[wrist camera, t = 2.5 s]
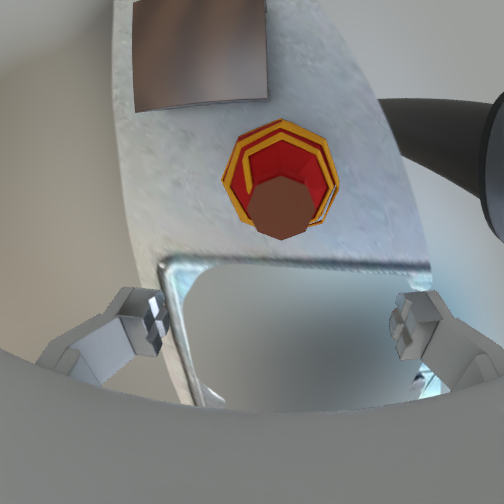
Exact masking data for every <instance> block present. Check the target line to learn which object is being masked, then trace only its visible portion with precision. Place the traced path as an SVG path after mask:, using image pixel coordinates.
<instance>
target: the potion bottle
mask: <svg viewBox="0 0 504 504" xmlns="http://www.w3.org/2000/svg"><path fill="white" fill-rule="evenodd" d="M221 181H222V183H223V185H224V187H225V189H226V191H227V193H228V195H229V198H230V200H231V202H232V204H233V206H234V208H235V210H236V212H237V214H238V216H239V218H240V220H241V221H242V222H244V223H247V224H249V225H252V226H254V227H256V229H257V231H258V232H260V233H263V234H265V235H268V236H271V237H273V238H276V239H279V240H284V239H287V238H290V237H292V236H295V235H298V234H300V233H303V232H305V231H306V229H307V227H311V226H314V225H318V224H322V223H323V222H324V220H325V217H326V215H327V213H328V211H329V209H330V207H331V205H332V203H333V201H334V199H335V196H336V194H337V192H338V190H339V178H338V175H337V172H336V168H335V165H334V162H333V159H332V156H331V153H330V150H329V147H328V144H327V141H326V139H325V138H323V137H321V136H319V135H317V134H315V133H313V132H310V131H308V130H306V129H304V128H302V127H300V126H298V125H296V124H295V123H293V122H289V121H286V120H284V119H281V118H280V119H278V120H275V121H273V122H271V123H268V124H266V125H264V126H261V127H259V128H257V129H254V130H252V131H250V132H248V133H245V134H243V135H241V136H239V137H238V139H237V141H236V144H235V146H234V149H233V151H232V154H231V156H230V159H229V161H228V164H227V166H226V169H225V171H224V174H223V176H222V179H221ZM335 184H336V187H335ZM334 187H335V190H334V193H333V195H332V198H331V201H330V203H329V206H328V208H327V211H326V213H325V216H324V218H323V220H320V221H317V219H319V217H320V216H322V214H323V212H324V209H325V206H326V204H327V201H328V199H329V197H330V195H331V193H332V191H333V189H334ZM315 221H317V222H315ZM312 222H315V223H312ZM309 223H312V224H309Z"/></svg>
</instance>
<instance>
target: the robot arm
mask: <svg viewBox="0 0 504 504" xmlns="http://www.w3.org/2000/svg"><path fill="white" fill-rule="evenodd" d="M164 301H165V297H164V294H163V292H162V291H161V290H157V289H146V288H133V287H123V288H121V289H120V291H119V292H118V294H117V295H116V296H115V298H114V299H113V300H112V302H111V303H110V305H109V306H108V307H107V309H106V310H105V312H104V313H103V314H98V315H96V316H94V317H93V318H91V319H89V320H87V321H85V322H84V323H82V324H80V325H78V326H76V327H75V328H73V329H71V330H69V331H68V332H66V333H64V334H62V335H61V336H59V337H57V338H55V339H53V340H52V341H50V343H49V344H48V345H47V347H46V348H45V350H44V351H43V353H42V354H41V356H40V357H39V358H38V360H37V361H36V363H35V364H33V363H31V362H29V361H27V360H24V359H22V358H20V357H18V356H15V355H13V354H11V353H9V352H7V351H5V350H2V349H1V348H0V504H504V349H503V348H502V347H501V346H499V345H498V344H496V343H495V342H493V341H492V340H490V339H489V338H487V337H486V336H484V335H483V334H481V333H480V332H478V331H477V330H475V329H474V328H472V327H471V326H469V325H467V324H466V323H465V322H463V321H461V320H460V319H458V318H456V319H455V318H454V317H453V315H452V314H451V312H450V310H449V309H448V307H447V306H446V304H445V302H444V301H443V299H442V298H441V297H440V295H439V293H438V292H437V291H435V290H433V291H423V292H410V293H409V292H408V293H399V294H398V296H397V298H396V301H395V303H396V305H397V308H396V309H395V310H394V311H393V312H392V314H391V317H390V323H389V329H390V334H391V336H392V338H393V339H394V340H396V341H397V344H396V350H397V353H398V355H399V358H400V361H403V360H413V359H421V361H422V362H423V363H424V364H425V365H426V366H427V367H428V368H429V369H430V370H431V371H432V372H433V373H434V374H435V375H436V376H437V377H438V378H439V379H440V380H441V381H442V382H444V384H446V385H447V387H449V389H450V390H451V391H450V392H449V393H445V394H441V395H437V396H433V397H428V398H424V399H419V400H414V401H409V402H403V403H397V404H391V405H384V406H378V407H369V408H361V409H351V410H339V411H323V412H254V411H238V410H226V409H216V408H206V407H198V406H191V405H184V404H177V403H171V402H166V401H160V400H154V399H149V398H145V397H140V396H136V395H131V394H127V393H123V392H119V391H115V390H111V389H107V388H103V386H102V384H103V383H104V382H105V381H106V380H108V379H109V378H110V377H111V376H112V375H113V374H115V373H116V372H117V371H118V370H119V369H121V368H122V367H123V366H124V365H125V364H126V363H127V362H129V361H130V360H131V359H132V358H134V357H135V355H142V356H149V357H157V356H158V353H159V351H160V349H161V346H162V344H163V343H162V340H161V338H162V337H164V336H165V335H166V334H167V332H168V329H169V323H170V317H169V312H168V309H167V308H166V307H165V306H164V305H163V303H164Z"/></svg>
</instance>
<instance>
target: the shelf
mask: <svg viewBox="0 0 504 504" xmlns="http://www.w3.org/2000/svg"><path fill="white" fill-rule="evenodd" d="M265 13H267V5H266V0H140V1H137V2H134V3H133V22H132V64H133V88H134V104H135V113H138V112H148V111H159V110H168V109H175V108H182V107H190V106H199V105H210V104H222V103H238V102H270V90H269V88H268V66H267V41H266V19H265Z"/></svg>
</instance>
